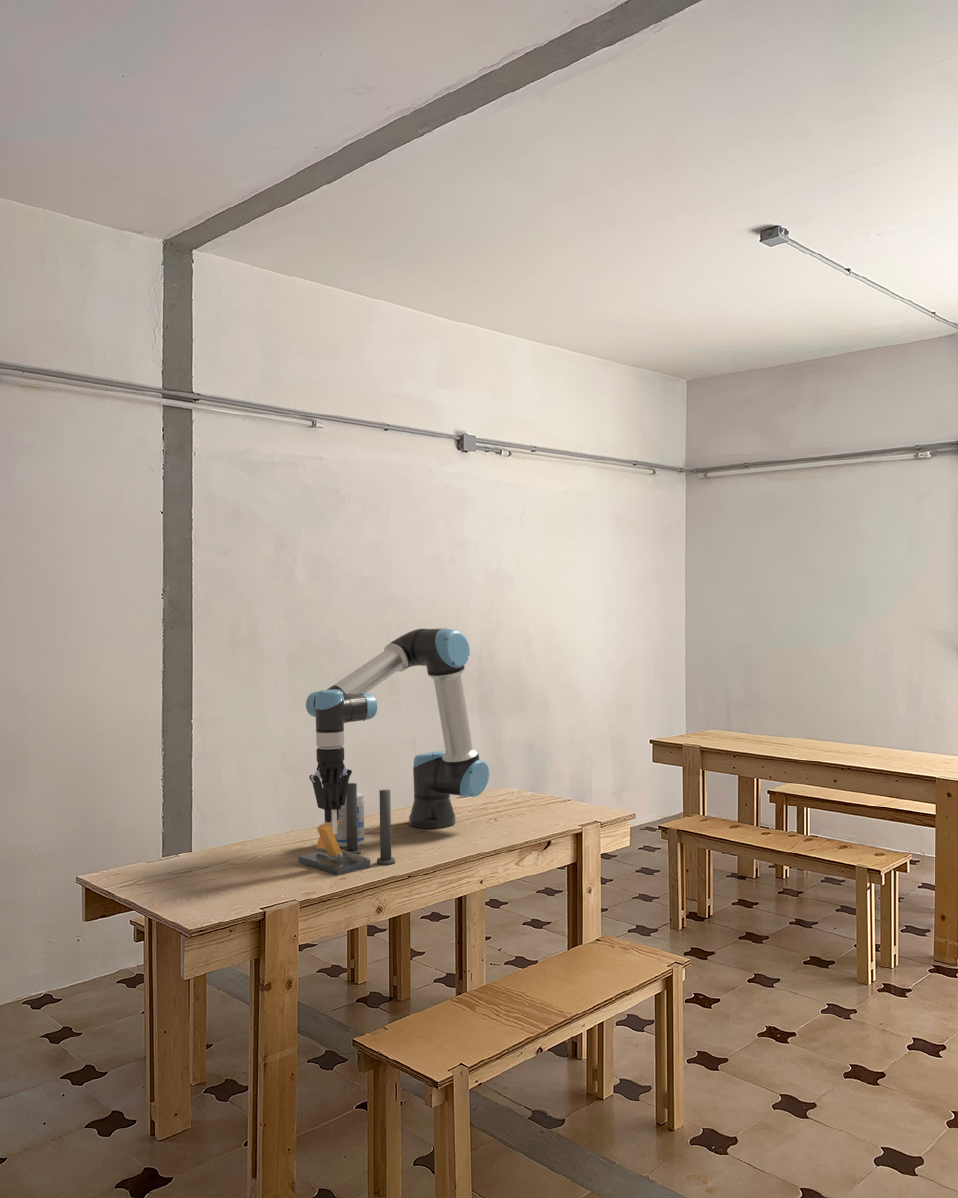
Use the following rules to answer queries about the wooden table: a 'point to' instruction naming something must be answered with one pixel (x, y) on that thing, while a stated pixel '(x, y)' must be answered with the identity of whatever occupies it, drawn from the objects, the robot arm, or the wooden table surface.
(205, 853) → the wooden table surface
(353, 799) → the post
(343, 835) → the supplement tub
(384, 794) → the post
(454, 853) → the wooden table surface
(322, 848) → the orange flat block
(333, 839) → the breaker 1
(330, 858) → the panel plate
